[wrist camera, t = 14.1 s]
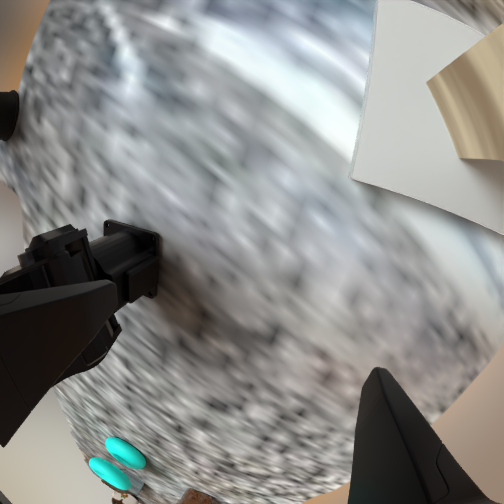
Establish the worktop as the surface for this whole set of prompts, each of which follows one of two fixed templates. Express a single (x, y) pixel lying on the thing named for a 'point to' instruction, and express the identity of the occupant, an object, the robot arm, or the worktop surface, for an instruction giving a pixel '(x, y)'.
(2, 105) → the aerosol can
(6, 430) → the robot arm
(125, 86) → the worktop surface
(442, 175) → the light grey slab
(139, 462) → the donuts
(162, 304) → the worktop surface
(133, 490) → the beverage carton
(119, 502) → the spread jar
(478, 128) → the birch block
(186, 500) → the food item
